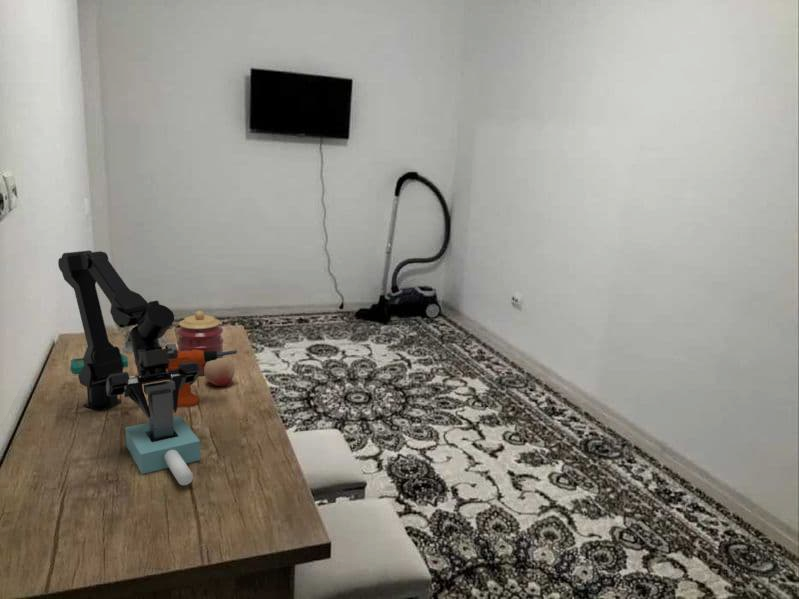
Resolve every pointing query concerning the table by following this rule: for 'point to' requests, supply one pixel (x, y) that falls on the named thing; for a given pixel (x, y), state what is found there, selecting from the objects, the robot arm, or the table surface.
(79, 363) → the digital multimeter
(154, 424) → the grey t-shaped bar
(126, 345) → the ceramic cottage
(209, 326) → the canister
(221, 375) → the fruit
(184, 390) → the toy drill
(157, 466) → the block
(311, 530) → the table surface
